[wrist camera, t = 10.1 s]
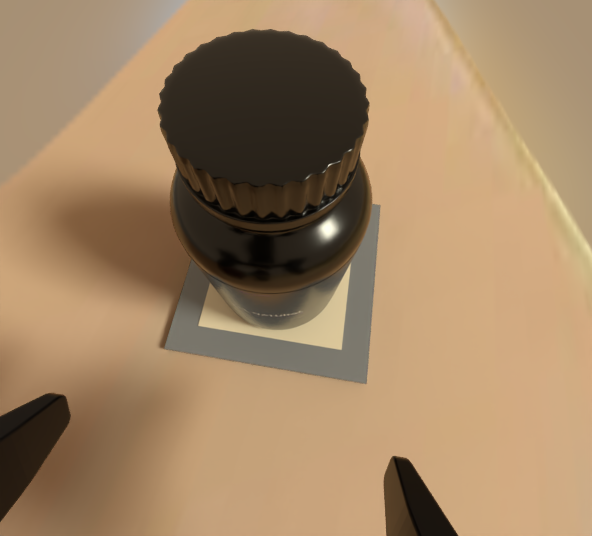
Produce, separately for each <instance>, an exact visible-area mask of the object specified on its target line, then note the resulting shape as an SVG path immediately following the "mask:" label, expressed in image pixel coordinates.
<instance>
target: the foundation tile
mask: <svg viewBox="0 0 592 536" xmlns="http://www.w3.org/2000/svg"><path fill="white" fill-rule="evenodd" d="M379 217H380V205H375V204H372V211H371V217H370V222H369V225H368V228H367V231H366V233H365V236H364V238H363V240H362V242H361V244H360V246H359V248H358V250H357V252H356V254H355V256H354V258H353V260H352V261H351V263H350V265H349V267H348V269H347V271H346V273H345V275H344V276H343V278H342V280H341V282H340V284H339V286H338V288H337V289H336V291H335V293H334V295H333V297H332V298H331V300H330V301H329V303H328V305H327V306H326V307H325V308H324V309H323V311H322V312H321V313H320V314H318V315H317V316H316V317H315V318H313V319H312V320H311V321H309V322H307V323H305V324H303V325H301V326H298V327H295V328H291V329H286V330H269V329H264V328H260V327H257V326H254V325H252V324H250V323H248V322H246V321H245V320H243V319H242V318H240V317H239V316H238V315H237V314H236V313H235V312H234V311H233V310H232V309H231V308H230V307H229V306H228V305H227V303H226V302H225V301H224V300H223V298H222V297H221V296H220V295H219V293H218V292H217V291H216V289H215V288H214V287H213V286H212V284H211V283H210V282H209V280H208V279H207V278H206V277H205V275H204V274H203V273H202V271H201V270H200V269H199V268H198V266H197V265H196V264H195V262H194V261H193V260H192V259H191V263H190V266H189V269H188V272H187V276H186V279H185V282H184V285H183V289H182V292H181V295H180V298H179V302H178V305H177V308H176V311H175V315H174V318H173V321H172V324H171V328H170V331H169V334H168V338H167V341H166V344H165V347H164V349H167V350H172V351H178V352H184V353H189V354H195V355H201V356H207V357H213V358H218V359H224V360H230V361H236V362H241V363H247V364H253V365H259V366H264V367H270V368H276V369H282V370H287V371H293V372H299V373H305V374H311V375H316V376H322V377H328V378H334V379H339V380H345V381H351V382H357V383H362V384H367V372H368V359H369V346H370V333H371V320H372V307H373V294H374V281H375V268H376V255H377V242H378V230H379Z"/></svg>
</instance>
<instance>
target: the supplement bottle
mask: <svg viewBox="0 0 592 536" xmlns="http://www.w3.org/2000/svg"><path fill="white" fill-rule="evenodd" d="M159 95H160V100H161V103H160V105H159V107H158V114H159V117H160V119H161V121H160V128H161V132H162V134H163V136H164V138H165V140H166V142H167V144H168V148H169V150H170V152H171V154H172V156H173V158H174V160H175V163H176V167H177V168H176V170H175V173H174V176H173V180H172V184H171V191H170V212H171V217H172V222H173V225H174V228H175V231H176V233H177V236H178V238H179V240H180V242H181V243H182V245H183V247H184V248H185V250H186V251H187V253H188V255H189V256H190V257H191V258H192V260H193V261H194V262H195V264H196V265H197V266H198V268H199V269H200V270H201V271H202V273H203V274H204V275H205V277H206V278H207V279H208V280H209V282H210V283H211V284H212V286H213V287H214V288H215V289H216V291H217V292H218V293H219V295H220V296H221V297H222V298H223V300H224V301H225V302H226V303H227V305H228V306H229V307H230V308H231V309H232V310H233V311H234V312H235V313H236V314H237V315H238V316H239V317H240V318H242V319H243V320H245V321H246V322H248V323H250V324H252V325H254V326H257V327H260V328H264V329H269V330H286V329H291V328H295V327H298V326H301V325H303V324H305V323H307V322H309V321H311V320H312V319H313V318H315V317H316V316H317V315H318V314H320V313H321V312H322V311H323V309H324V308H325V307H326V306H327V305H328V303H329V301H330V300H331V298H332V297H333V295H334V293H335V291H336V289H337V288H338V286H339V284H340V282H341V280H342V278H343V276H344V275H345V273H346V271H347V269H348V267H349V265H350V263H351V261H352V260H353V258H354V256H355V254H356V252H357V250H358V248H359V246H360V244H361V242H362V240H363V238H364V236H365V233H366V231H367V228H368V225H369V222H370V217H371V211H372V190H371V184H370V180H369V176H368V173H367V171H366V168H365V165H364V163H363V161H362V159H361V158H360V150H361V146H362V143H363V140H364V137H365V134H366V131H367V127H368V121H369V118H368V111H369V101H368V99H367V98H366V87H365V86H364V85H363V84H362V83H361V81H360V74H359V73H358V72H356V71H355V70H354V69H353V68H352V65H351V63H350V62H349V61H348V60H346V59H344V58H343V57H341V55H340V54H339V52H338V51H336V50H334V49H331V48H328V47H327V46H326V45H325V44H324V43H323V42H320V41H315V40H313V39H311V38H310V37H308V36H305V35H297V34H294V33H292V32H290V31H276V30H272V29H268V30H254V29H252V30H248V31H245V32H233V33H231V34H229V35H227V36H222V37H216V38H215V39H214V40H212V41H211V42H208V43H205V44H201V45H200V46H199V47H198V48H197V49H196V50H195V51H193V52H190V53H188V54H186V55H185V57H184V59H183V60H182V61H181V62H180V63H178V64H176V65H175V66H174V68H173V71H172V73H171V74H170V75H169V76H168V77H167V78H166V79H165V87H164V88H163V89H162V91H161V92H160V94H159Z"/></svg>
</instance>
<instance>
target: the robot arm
mask: <svg viewBox="0 0 592 536" xmlns="http://www.w3.org/2000/svg"><path fill="white" fill-rule="evenodd" d="M70 417H71V415H70V411H69V407H68V402H67V399H66V397H65V396H64V395H61V394H56V393H48V394H45V395H43V396H41V397H39V398H37V399H35V400H33V401H31V402H29V403H26V404H24V405H22V406H20V407H18V408H16V409H14V410H12V411H10V412H8V413H6V414H4V415H2V416H0V522H1V520H2V519H3V518H4V516H5V515H6V514H7V513H8V511H9V510H10V509H11V507H12V506H13V505H14V503H15V502H16V501H17V500H18V498H19V497H20V496H21V494H22V493H23V492H24V490H25V489H26V488H27V486H28V485H29V483H30V482H31V481H32V479H33V478H34V476H35V475H36V473H37V472H38V470H39V469H40V467H41V466H42V464H43V462H44V461H45V459H46V458H47V456H48V455H49V453H50V452H51V450H52V449H53V447H54V446H55V444H56V442H57V441H58V439H59V438H60V436H61V435H62V433H63V432H64V430H65V429H66V427H67V425H68V423H69V421H70ZM384 500H385V517H386V535H387V536H458V534H457V533H456V531H455V530H454V528H453V527H452V525H451V524H450V522H449V520H448V519H447V517H446V516H445V514H444V513H443V511H442V510H441V508H440V507H439V505H438V503H437V502H436V500H435V499H434V497H433V496H432V494H431V493H430V491H429V490H428V488H427V486H426V485H425V483H424V482H423V480H422V479H421V477H420V476H419V474H418V473H417V471H416V469H415V468H414V466H413V465H412V463H411V462H410V461H409V460H408V459H407V458H403V457H398V456H393V457H392V458H391V459H390V462H389V465H388V467H387V470H386V472H385V475H384Z"/></svg>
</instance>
